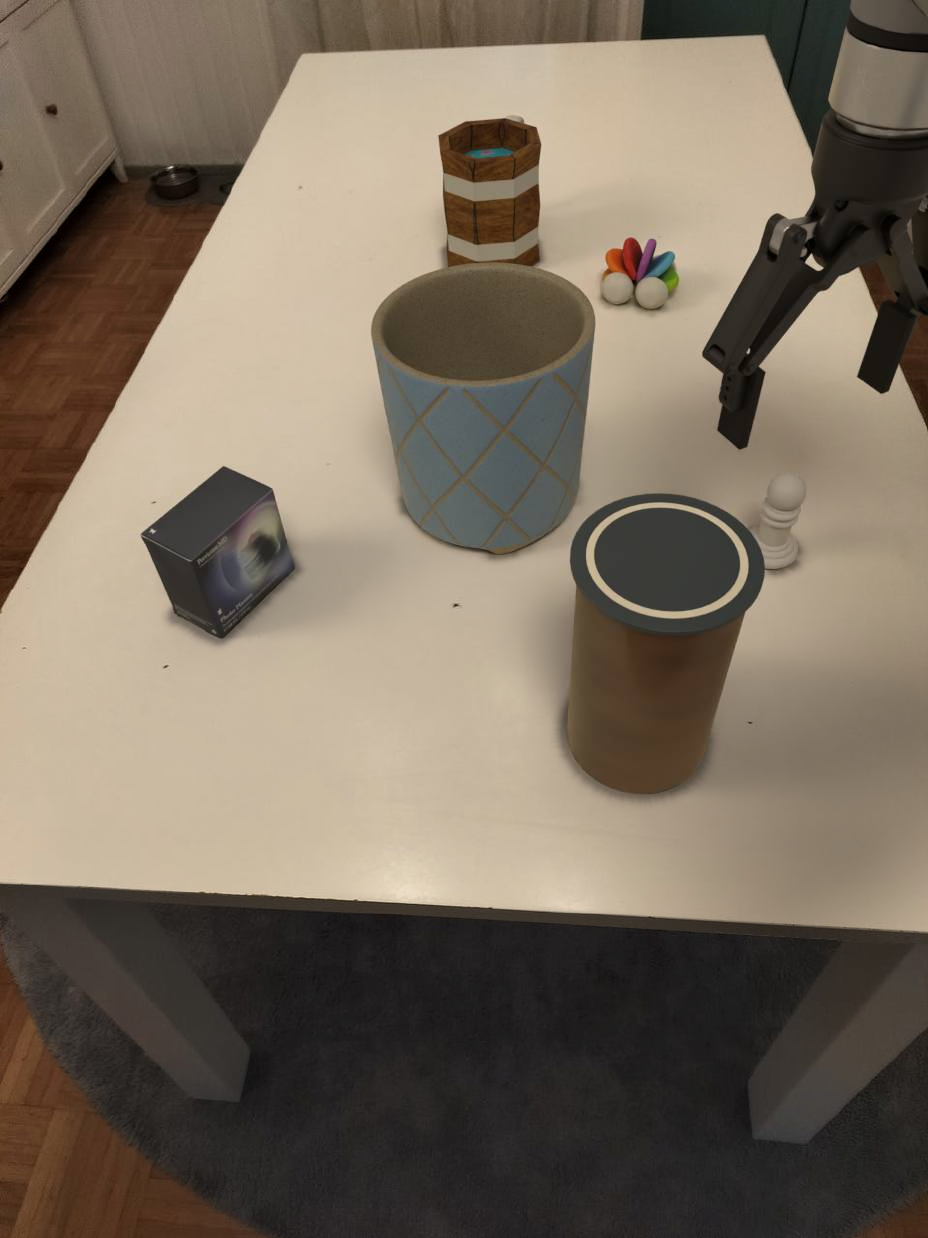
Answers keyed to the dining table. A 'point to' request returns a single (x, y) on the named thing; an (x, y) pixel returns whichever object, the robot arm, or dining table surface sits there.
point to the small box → (220, 550)
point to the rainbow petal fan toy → (639, 274)
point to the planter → (486, 399)
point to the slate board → (667, 564)
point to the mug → (491, 191)
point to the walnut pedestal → (643, 699)
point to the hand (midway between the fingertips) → (803, 411)
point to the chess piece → (780, 520)
